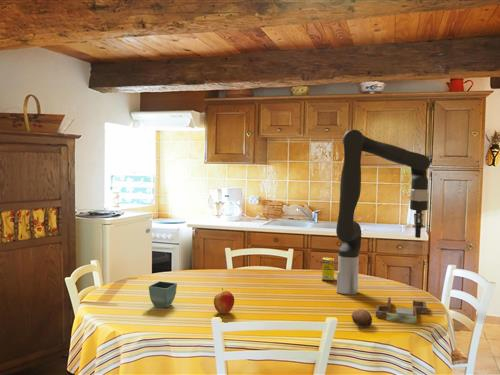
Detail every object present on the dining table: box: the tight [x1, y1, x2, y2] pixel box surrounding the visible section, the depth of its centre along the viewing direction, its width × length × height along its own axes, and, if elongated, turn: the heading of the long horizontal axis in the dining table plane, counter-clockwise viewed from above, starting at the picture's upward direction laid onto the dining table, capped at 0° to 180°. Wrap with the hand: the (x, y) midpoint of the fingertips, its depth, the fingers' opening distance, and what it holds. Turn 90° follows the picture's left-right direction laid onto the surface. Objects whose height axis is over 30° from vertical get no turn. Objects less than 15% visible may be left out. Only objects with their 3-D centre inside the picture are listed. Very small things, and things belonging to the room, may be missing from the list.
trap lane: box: [375, 297, 428, 325], centre depth 180 cm, size 19×22×2 cm
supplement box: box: [321, 257, 335, 282], centre depth 229 cm, size 6×6×11 cm
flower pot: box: [148, 280, 178, 309], centre depth 185 cm, size 9×9×9 cm
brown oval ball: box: [351, 308, 373, 329], centre depth 166 cm, size 8×8×6 cm
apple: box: [213, 287, 235, 315], centre depth 177 cm, size 8×8×10 cm
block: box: [395, 307, 413, 316], centre depth 174 cm, size 6×6×4 cm
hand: (417, 237), depth 201 cm, fingers closed
